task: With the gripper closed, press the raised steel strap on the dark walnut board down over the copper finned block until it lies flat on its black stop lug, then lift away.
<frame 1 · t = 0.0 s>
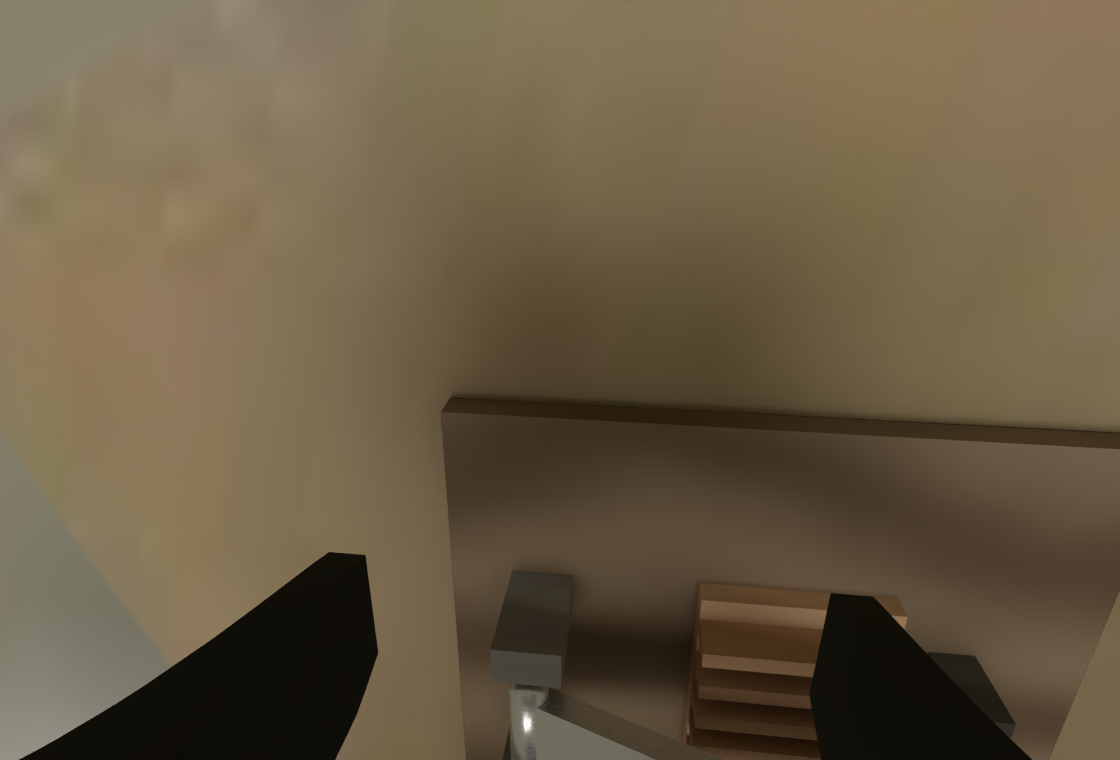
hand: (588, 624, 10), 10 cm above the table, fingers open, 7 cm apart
strap board: (746, 648, 23), on the table
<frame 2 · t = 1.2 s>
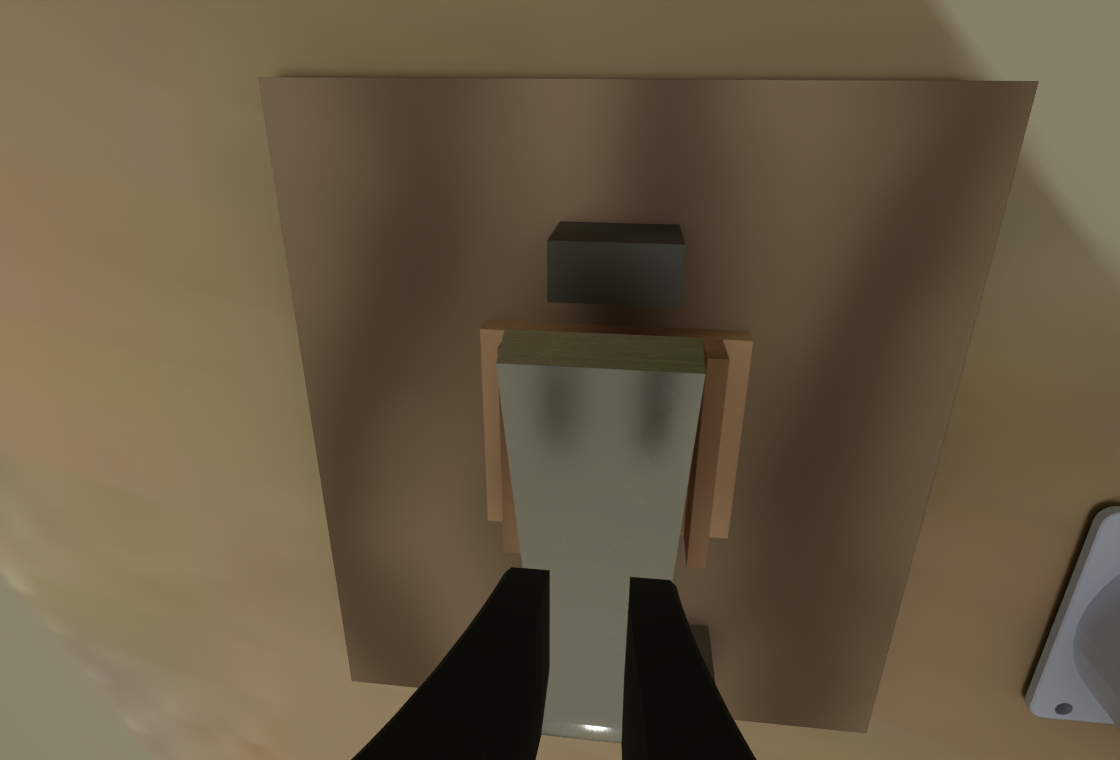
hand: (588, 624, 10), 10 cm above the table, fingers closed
strap board: (610, 439, 20), on the table
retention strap: (597, 600, 15), point 6 cm above the table, hinge at 20.0°
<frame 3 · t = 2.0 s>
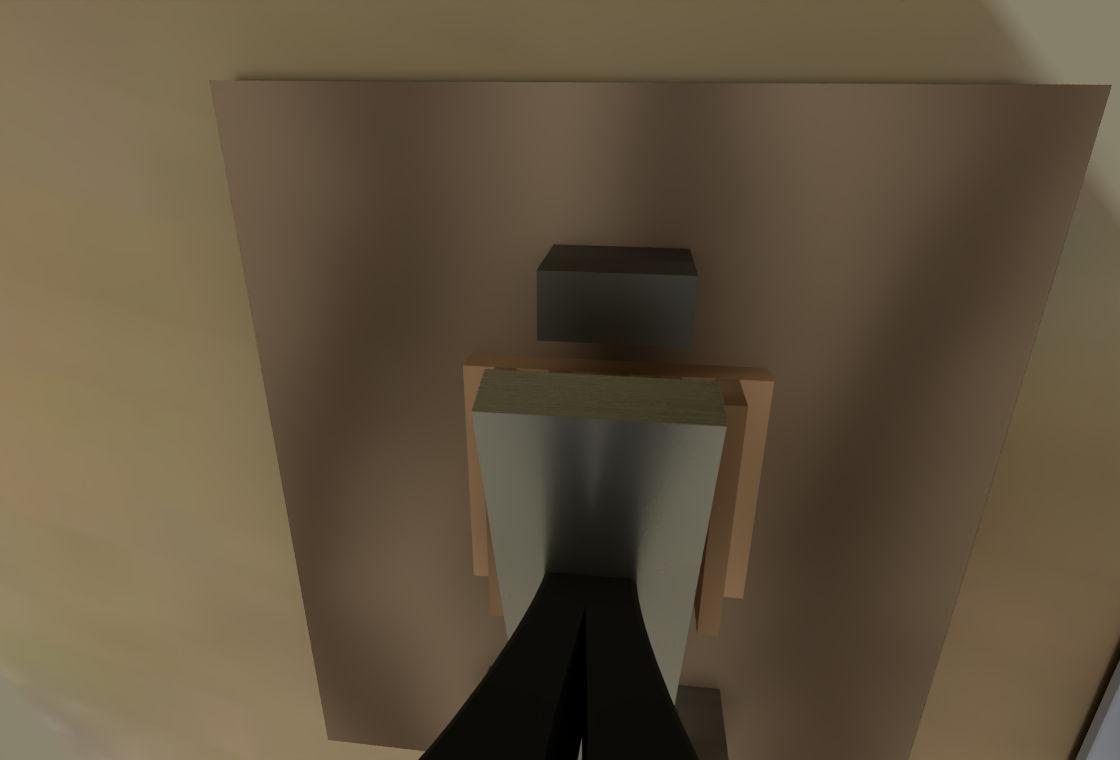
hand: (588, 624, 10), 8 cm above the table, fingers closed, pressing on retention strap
strap board: (611, 484, 18), on the table
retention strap: (595, 676, 13), point 6 cm above the table, hinge at 17.8°, touching gripper
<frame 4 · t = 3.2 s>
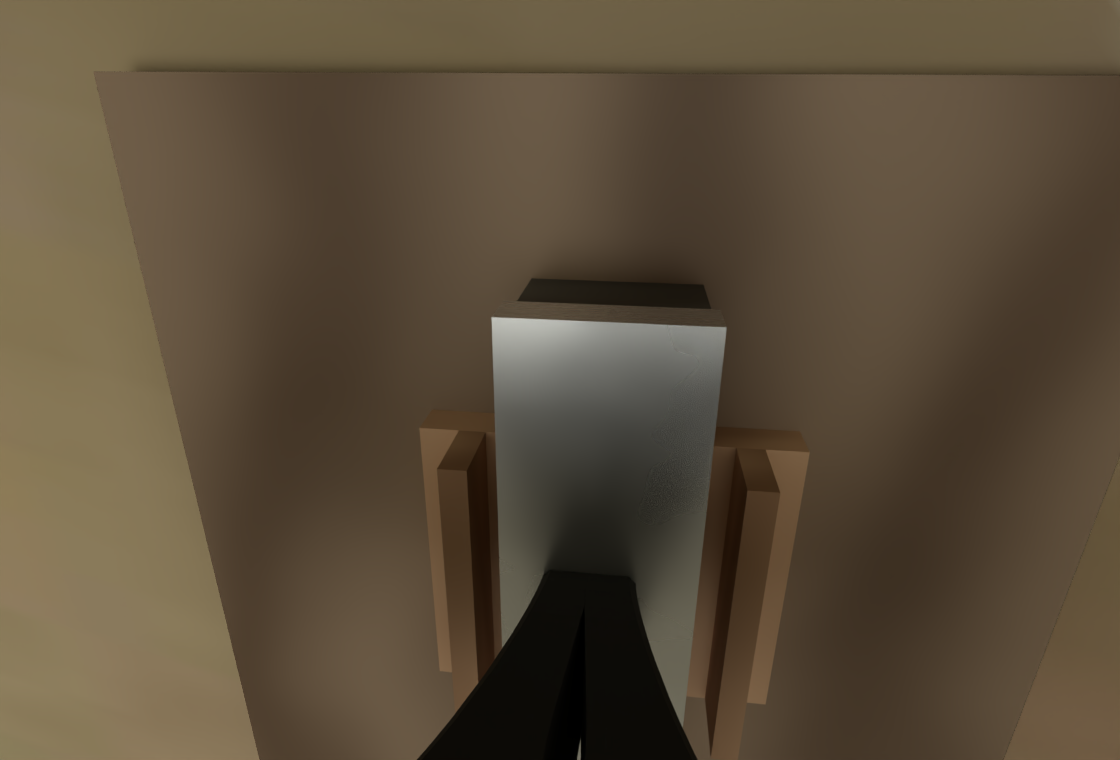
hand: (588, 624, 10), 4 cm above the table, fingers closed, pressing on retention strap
strap board: (606, 558, 15), on the table
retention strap: (593, 714, 12), point 4 cm above the table, hinge at -0.5°, touching gripper, strap board
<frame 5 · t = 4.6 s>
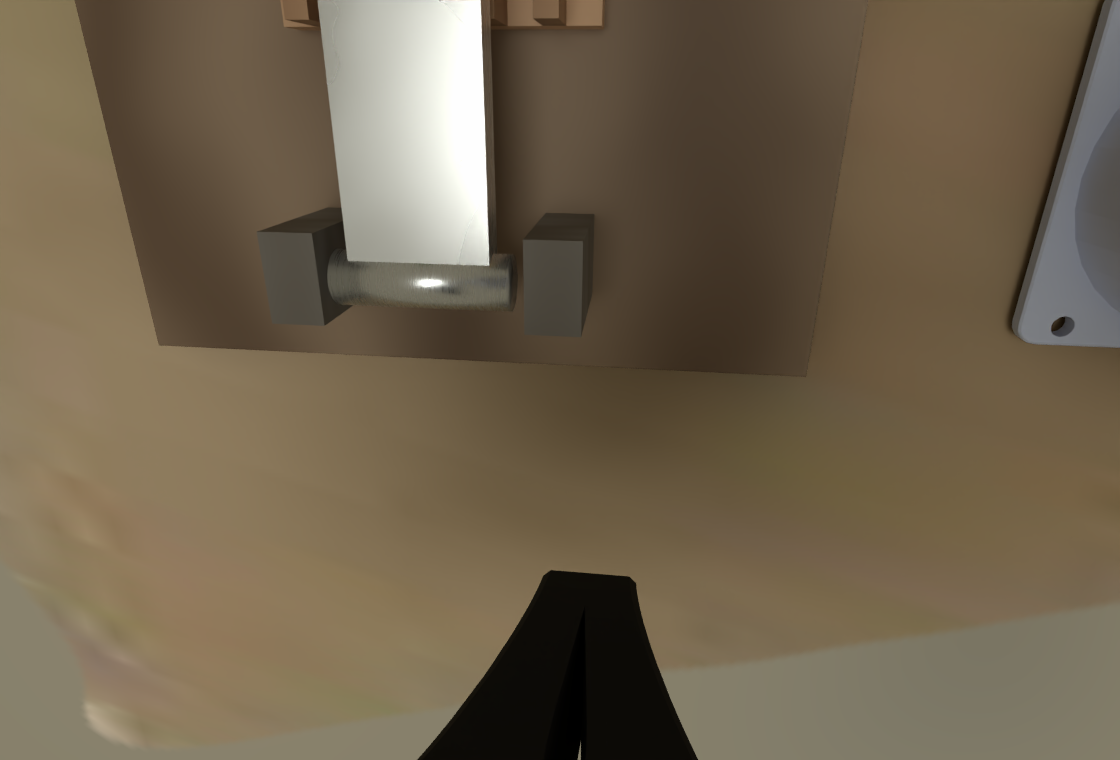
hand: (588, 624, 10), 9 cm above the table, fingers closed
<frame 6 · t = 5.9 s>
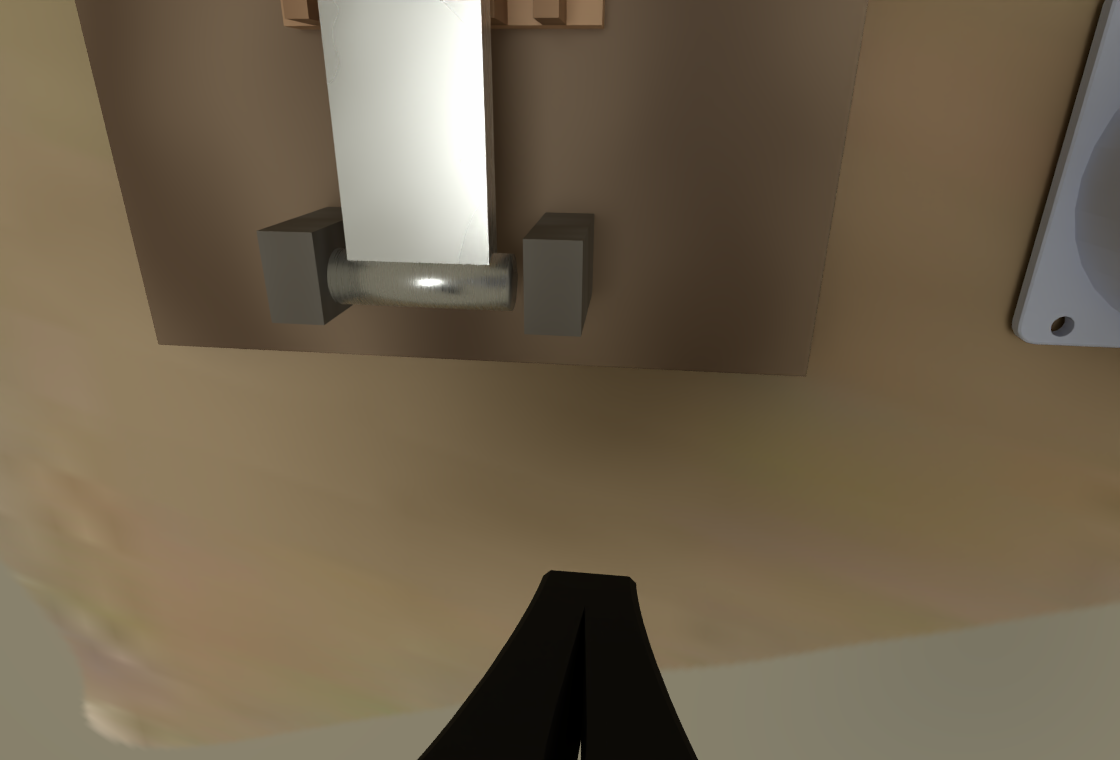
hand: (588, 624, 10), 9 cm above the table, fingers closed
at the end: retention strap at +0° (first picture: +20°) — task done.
